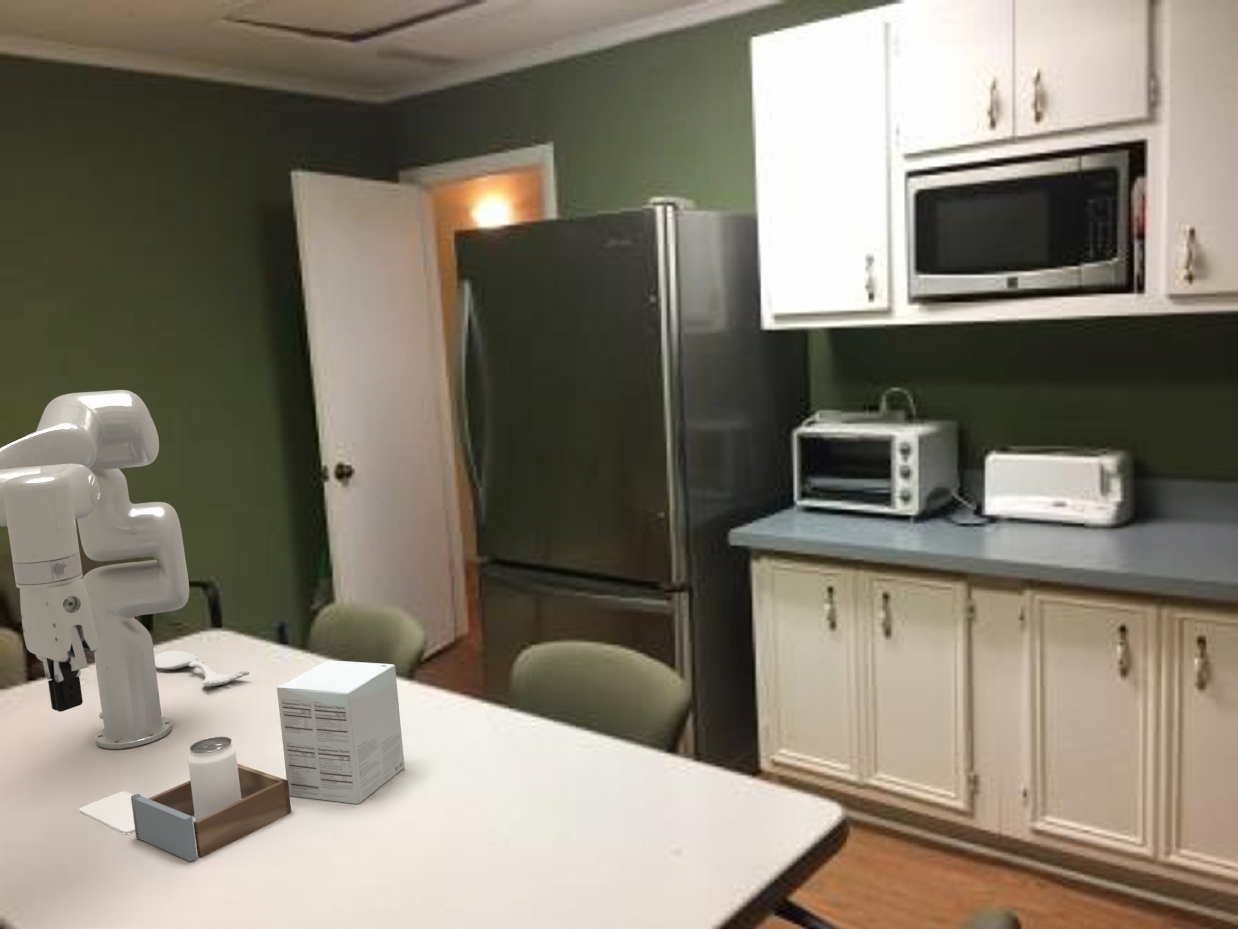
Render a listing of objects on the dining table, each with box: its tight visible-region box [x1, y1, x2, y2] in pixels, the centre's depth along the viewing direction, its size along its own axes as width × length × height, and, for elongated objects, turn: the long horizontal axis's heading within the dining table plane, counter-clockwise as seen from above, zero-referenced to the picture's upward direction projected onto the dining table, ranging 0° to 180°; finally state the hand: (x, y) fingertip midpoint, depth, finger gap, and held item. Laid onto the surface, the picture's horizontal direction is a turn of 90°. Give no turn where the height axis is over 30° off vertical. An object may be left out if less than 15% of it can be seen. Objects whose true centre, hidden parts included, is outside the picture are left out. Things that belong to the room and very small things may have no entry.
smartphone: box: [78, 791, 135, 835], centre depth 155 cm, size 7×1×15 cm
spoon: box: [154, 650, 250, 688], centre depth 218 cm, size 9×32×4 cm, turn 47°
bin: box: [147, 763, 292, 858], centre depth 149 cm, size 14×15×5 cm
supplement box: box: [276, 659, 406, 805], centre depth 160 cm, size 13×13×18 cm
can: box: [187, 736, 242, 821], centre depth 149 cm, size 6×6×12 cm
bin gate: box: [131, 793, 198, 862], centre depth 142 cm, size 14×1×6 cm, turn 55°
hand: (67, 707), depth 133 cm, fingers closed
